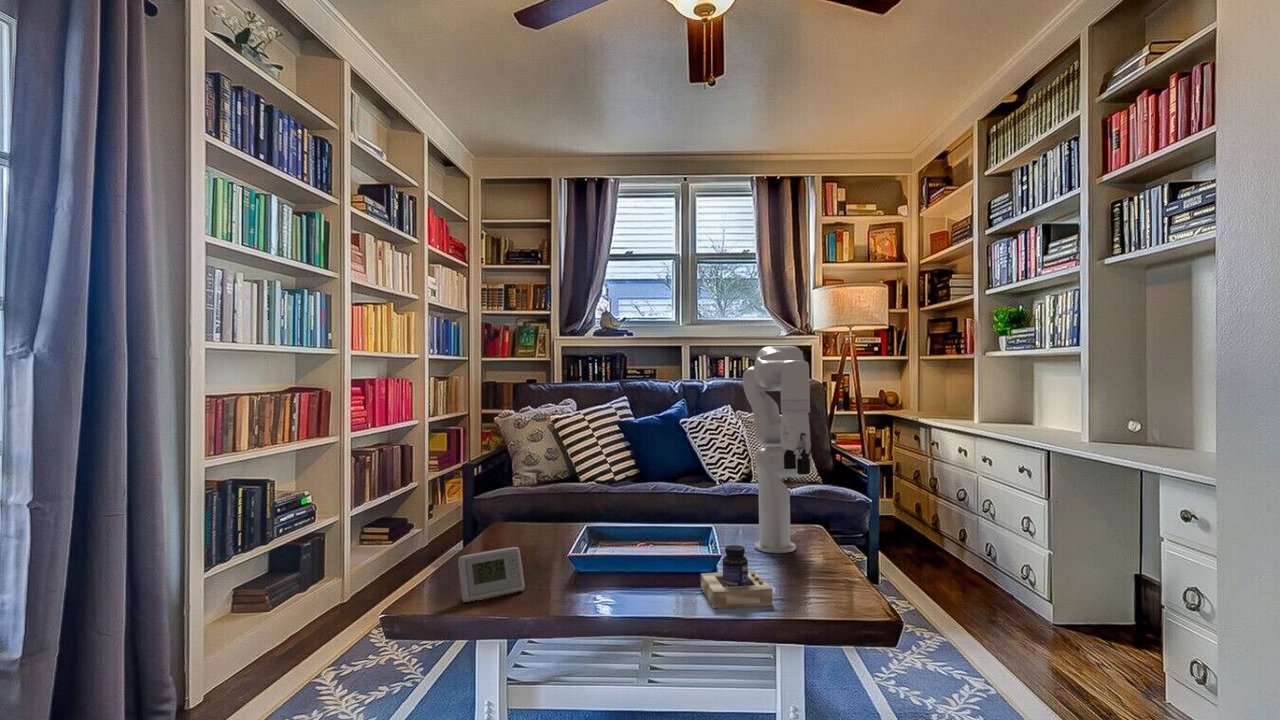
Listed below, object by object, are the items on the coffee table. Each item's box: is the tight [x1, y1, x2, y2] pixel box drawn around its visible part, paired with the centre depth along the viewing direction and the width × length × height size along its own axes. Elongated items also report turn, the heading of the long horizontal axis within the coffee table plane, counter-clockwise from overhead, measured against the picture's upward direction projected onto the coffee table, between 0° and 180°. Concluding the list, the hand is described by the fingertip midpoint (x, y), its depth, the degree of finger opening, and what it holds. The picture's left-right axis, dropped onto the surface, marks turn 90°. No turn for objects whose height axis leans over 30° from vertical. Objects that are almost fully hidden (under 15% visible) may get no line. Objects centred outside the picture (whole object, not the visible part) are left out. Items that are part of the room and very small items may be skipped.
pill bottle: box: [722, 544, 749, 587], centre depth 152 cm, size 6×6×11 cm
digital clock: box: [457, 546, 525, 603], centre depth 155 cm, size 16×9×11 cm, turn 113°
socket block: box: [700, 570, 774, 609], centre depth 151 cm, size 14×14×4 cm
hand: (796, 471), depth 165 cm, fingers open, 9 cm apart
